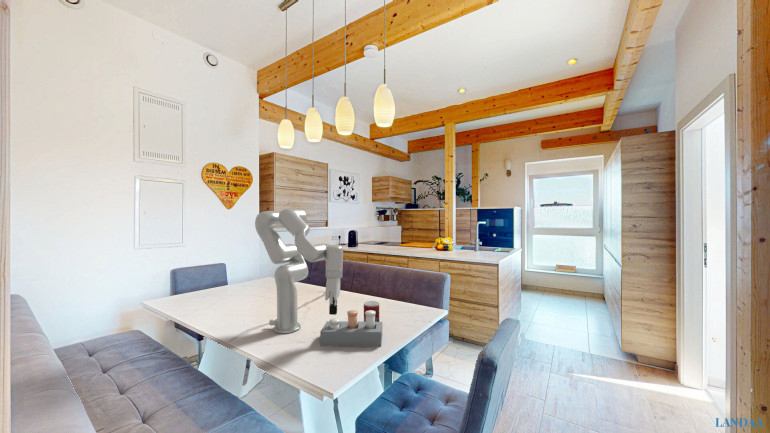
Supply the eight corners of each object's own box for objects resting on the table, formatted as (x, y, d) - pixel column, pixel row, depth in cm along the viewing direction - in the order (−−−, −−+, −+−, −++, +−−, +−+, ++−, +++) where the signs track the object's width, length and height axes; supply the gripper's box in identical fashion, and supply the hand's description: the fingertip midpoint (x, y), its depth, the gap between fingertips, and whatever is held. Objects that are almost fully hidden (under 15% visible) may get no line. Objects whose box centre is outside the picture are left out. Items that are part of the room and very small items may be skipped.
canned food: (377, 328, 143) (377, 306, 143) (361, 327, 145) (361, 305, 145) (380, 322, 151) (380, 301, 151) (366, 321, 152) (365, 300, 152)
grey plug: (364, 332, 127) (364, 313, 127) (365, 327, 132) (365, 310, 132) (375, 332, 127) (375, 313, 127) (376, 328, 132) (375, 310, 132)
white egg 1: (328, 340, 128) (328, 321, 128) (330, 335, 133) (330, 318, 133) (339, 340, 128) (338, 322, 128) (340, 335, 132) (340, 318, 132)
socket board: (320, 345, 124) (320, 331, 124) (326, 334, 136) (326, 321, 136) (381, 346, 123) (381, 332, 123) (382, 334, 135) (382, 321, 135)
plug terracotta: (346, 331, 128) (346, 313, 128) (348, 327, 132) (348, 310, 132) (357, 331, 128) (356, 313, 127) (358, 327, 132) (358, 310, 132)
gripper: (329, 269, 138) (328, 308, 138) (321, 276, 123) (320, 319, 123) (345, 270, 138) (344, 308, 138) (339, 277, 123) (338, 320, 123)
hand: (333, 313), depth 131 cm, fingers closed
